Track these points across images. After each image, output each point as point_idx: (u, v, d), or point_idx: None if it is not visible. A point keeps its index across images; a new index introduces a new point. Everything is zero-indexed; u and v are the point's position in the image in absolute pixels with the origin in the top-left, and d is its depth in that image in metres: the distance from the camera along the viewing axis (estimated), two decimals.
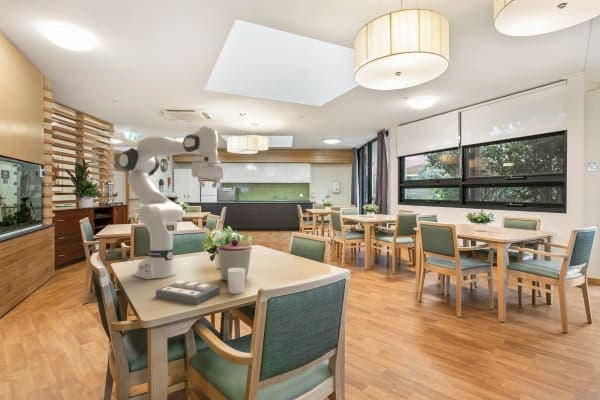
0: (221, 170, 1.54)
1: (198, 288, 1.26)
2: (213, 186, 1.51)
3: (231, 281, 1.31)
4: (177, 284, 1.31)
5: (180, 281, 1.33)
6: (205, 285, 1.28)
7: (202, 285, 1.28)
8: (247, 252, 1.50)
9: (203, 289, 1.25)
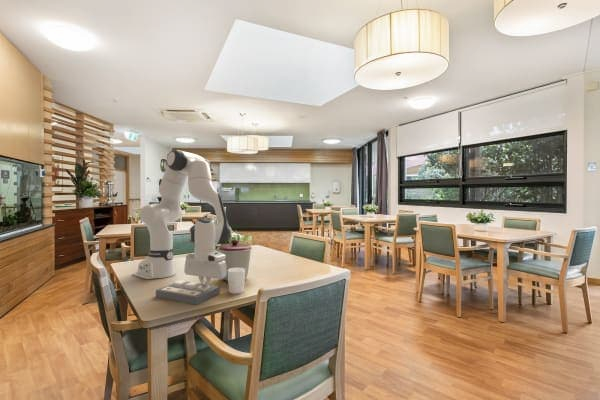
0: None
1: (198, 289, 1.26)
2: None
3: (231, 281, 1.31)
4: (177, 284, 1.31)
5: (180, 281, 1.33)
6: None
7: None
8: (247, 252, 1.50)
9: (203, 290, 1.25)
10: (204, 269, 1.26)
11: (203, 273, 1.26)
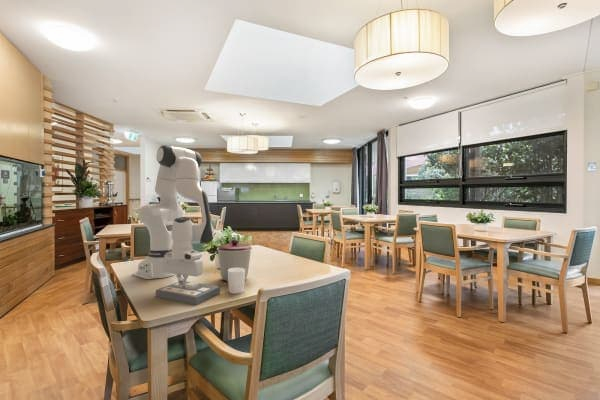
0: None
1: None
2: None
3: (231, 281, 1.31)
4: (177, 286, 1.31)
5: None
6: (205, 289, 1.28)
7: (202, 289, 1.28)
8: (247, 252, 1.50)
9: None
10: (181, 267, 1.31)
11: (180, 271, 1.31)
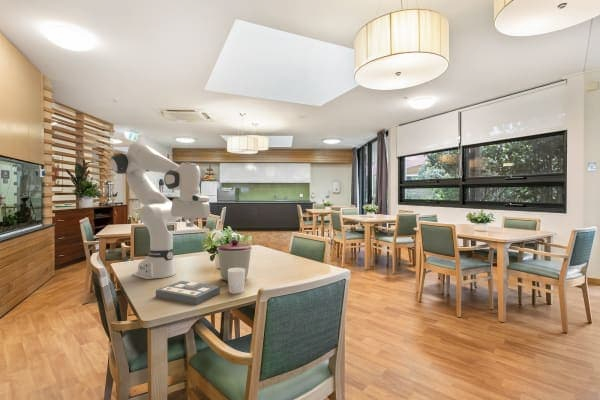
0: None
1: None
2: None
3: (231, 281, 1.31)
4: None
5: (180, 285, 1.33)
6: (205, 289, 1.28)
7: (202, 289, 1.28)
8: (247, 252, 1.50)
9: None
10: (189, 209, 1.34)
11: (188, 213, 1.35)
